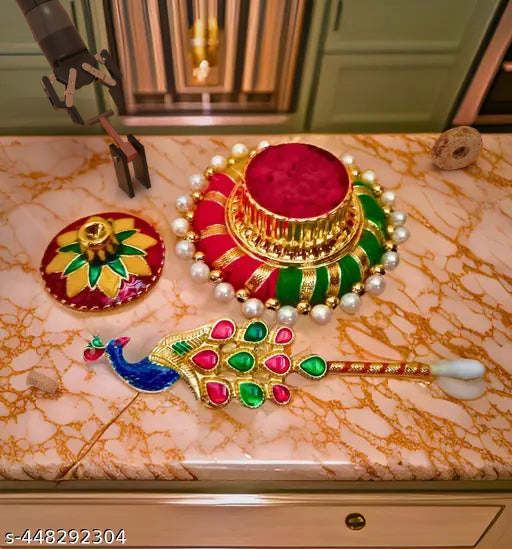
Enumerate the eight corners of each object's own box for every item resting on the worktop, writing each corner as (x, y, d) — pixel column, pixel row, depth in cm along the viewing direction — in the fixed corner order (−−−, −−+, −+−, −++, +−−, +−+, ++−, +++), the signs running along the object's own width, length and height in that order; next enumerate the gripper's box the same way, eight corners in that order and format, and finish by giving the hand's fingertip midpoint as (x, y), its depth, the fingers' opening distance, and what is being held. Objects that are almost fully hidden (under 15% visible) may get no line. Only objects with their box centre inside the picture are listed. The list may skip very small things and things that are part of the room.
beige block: (38, 376, 97) (29, 364, 92) (64, 385, 96) (56, 374, 92) (30, 390, 95) (20, 379, 91) (55, 400, 94) (47, 389, 90)
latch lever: (86, 125, 111) (86, 118, 109) (110, 113, 113) (110, 105, 111) (120, 167, 110) (120, 161, 108) (143, 154, 112) (144, 147, 110)
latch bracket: (104, 184, 120) (92, 138, 109) (136, 166, 123) (127, 120, 112) (135, 216, 116) (125, 172, 105) (167, 197, 119) (161, 152, 108)
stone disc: (429, 173, 125) (443, 139, 116) (424, 161, 127) (438, 126, 118) (475, 169, 126) (492, 136, 117) (469, 157, 128) (486, 123, 119)
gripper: (22, 42, 99) (73, 129, 104) (94, 12, 104) (139, 96, 110) (17, 53, 106) (65, 135, 111) (85, 25, 111) (127, 103, 116)
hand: (102, 116), depth 110 cm, fingers open, 8 cm apart
